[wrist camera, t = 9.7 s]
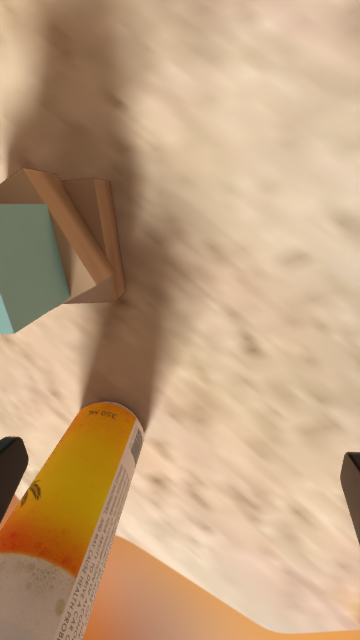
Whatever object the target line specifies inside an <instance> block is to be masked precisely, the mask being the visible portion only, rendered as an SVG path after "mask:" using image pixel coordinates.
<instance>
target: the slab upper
mask: <svg viewBox="0 0 360 640" xmlns="http://www.w3.org/2000/svg"><path fill="white" fill-rule="evenodd" d="M0 204H47V206H48V211H49V215H50V219H51V223H52V226H53V230H54V234H55V238H56V242H57V246H58V250H59V254H60V258H61V262H62V266H63V270H64V274H65V278H66V282H67V286H68V290H69V294H70V298H69V299H67V300H66V301H64V302H62V303H61V304H63V303H65V302H67V301H69V300H71V299H72V298H74V297H76V296H78V295H80V294H82V293H83V292H85V291H87V290H89V289H91V288H93V287H95V286H96V285H98V284H99V283H101V282H102V281H104V280H105V279H107V278H108V277H110V276H111V275H113V274H114V273H116V272H115V270H114V268H113V267H112V265H111V263H110V262H109V260H108V258H107V257H106V255H105V253H104V252H103V250H102V248H101V247H100V245H99V243H98V242H97V240H96V238H95V237H94V235H93V233H92V232H91V230H90V228H89V227H88V225H87V223H86V222H85V220H84V218H83V217H82V215H81V213H80V212H79V210H78V208H77V207H76V205H75V203H74V202H73V200H72V198H71V197H70V195H69V193H68V192H67V190H66V188H65V187H64V185H63V183H62V182H61V180H60V178H59V177H58V175H57V174H54V173H49V172H43V171H38V170H33V169H27V168H21V169H20V170H18V171H17V172H16V173H14V174H13V175H12V176H10V177H9V178H8V179H6V180H5V181H4V182H2V183H1V184H0ZM61 304H59V305H61ZM59 305H58V306H59ZM58 306H56V307H58ZM56 307H55V308H56ZM53 309H54V308H53Z"/></svg>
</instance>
